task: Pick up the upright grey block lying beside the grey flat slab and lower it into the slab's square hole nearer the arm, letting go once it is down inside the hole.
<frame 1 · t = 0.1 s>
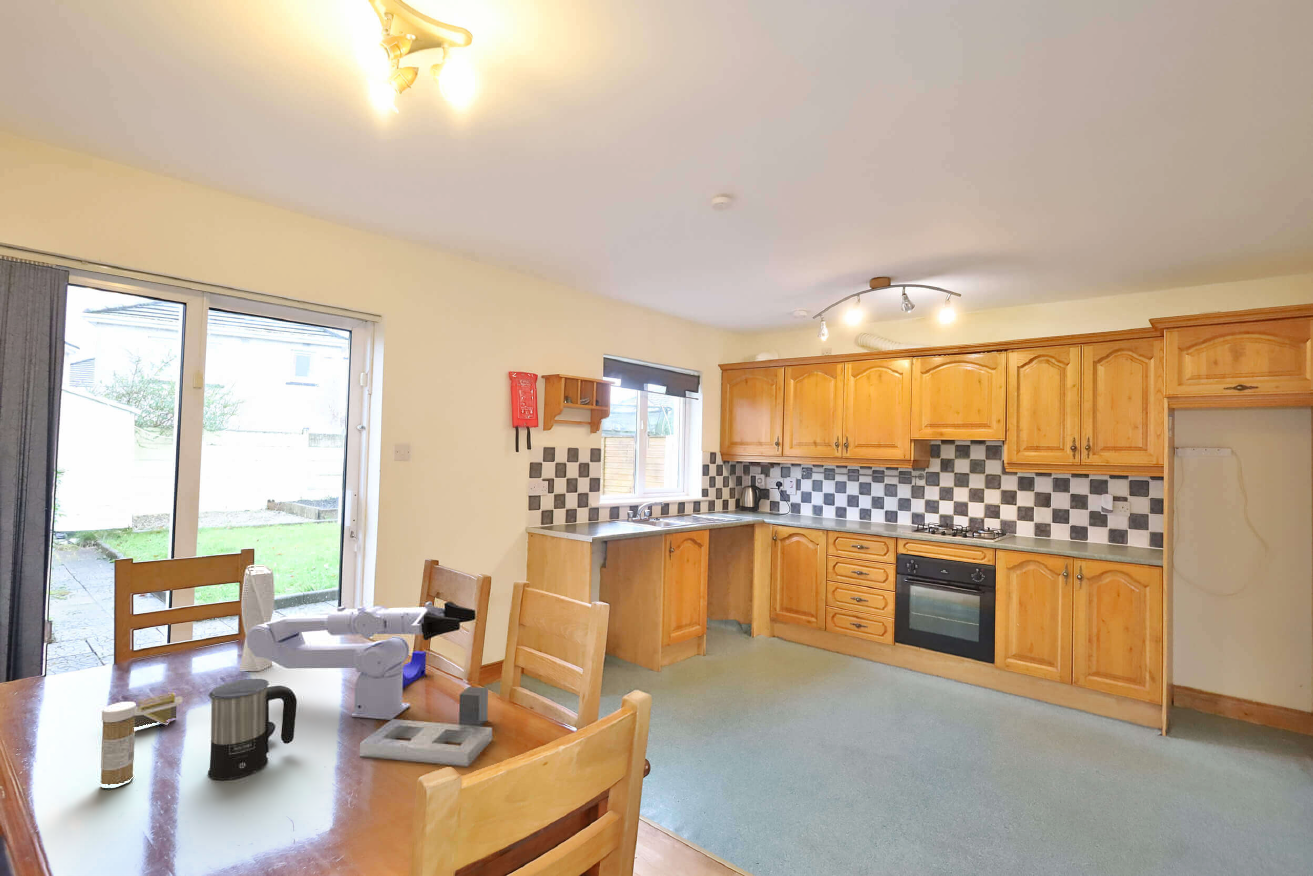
hand: (467, 619, 138), 22 cm above the table, tool horizontal, fingers open, 7 cm apart
sprinkles bottle: (116, 785, 109), on the table
platform: (154, 730, 131), on the table
grey flat slab: (427, 747, 124), on the table
milk frother: (243, 759, 119), on the table
upright grey block: (473, 724, 136), on the table
skyscraper: (255, 669, 167), on the table
cable clip: (404, 683, 159), on the table
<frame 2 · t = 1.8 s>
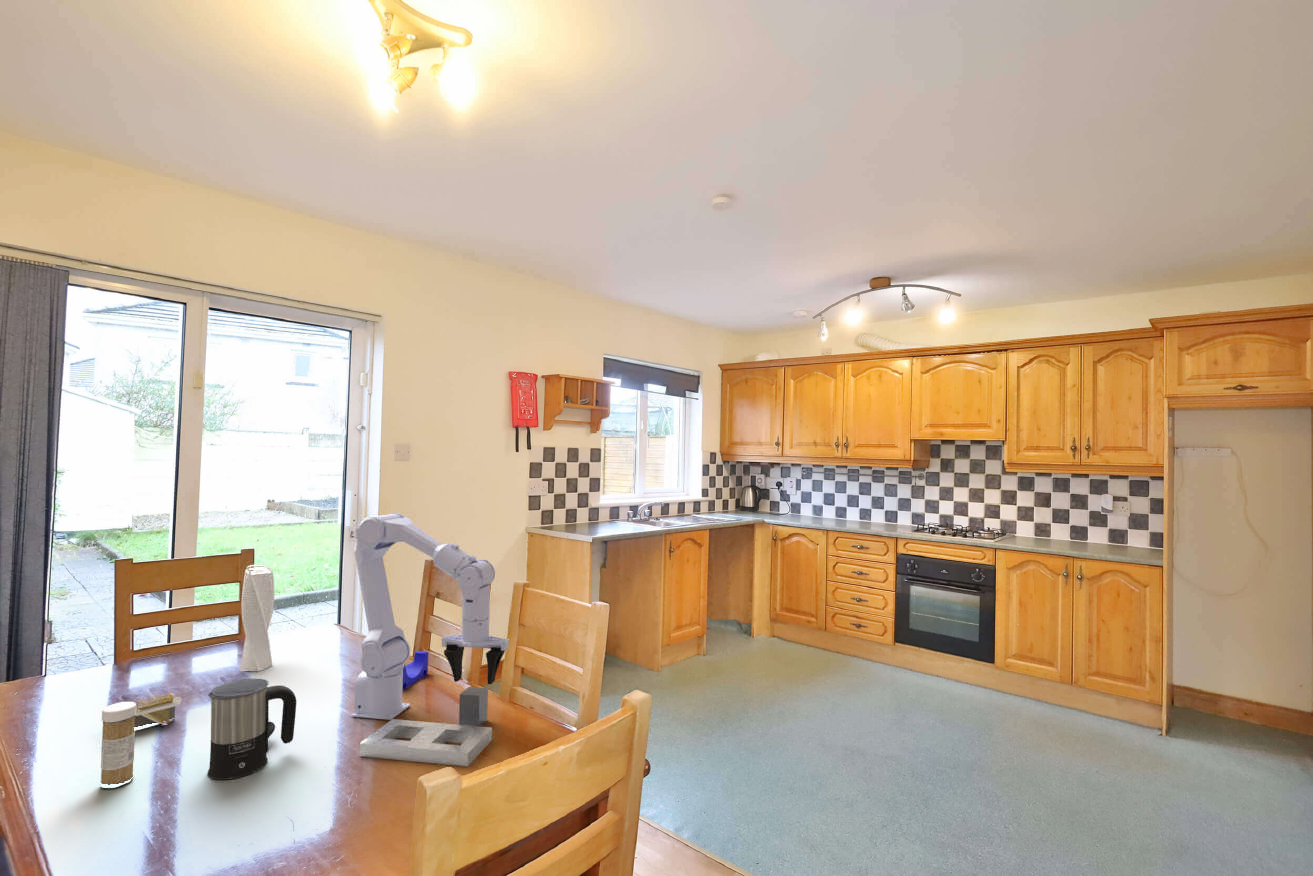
hand: (474, 681, 136), 9 cm above the table, tool pointing down, fingers open, 7 cm apart
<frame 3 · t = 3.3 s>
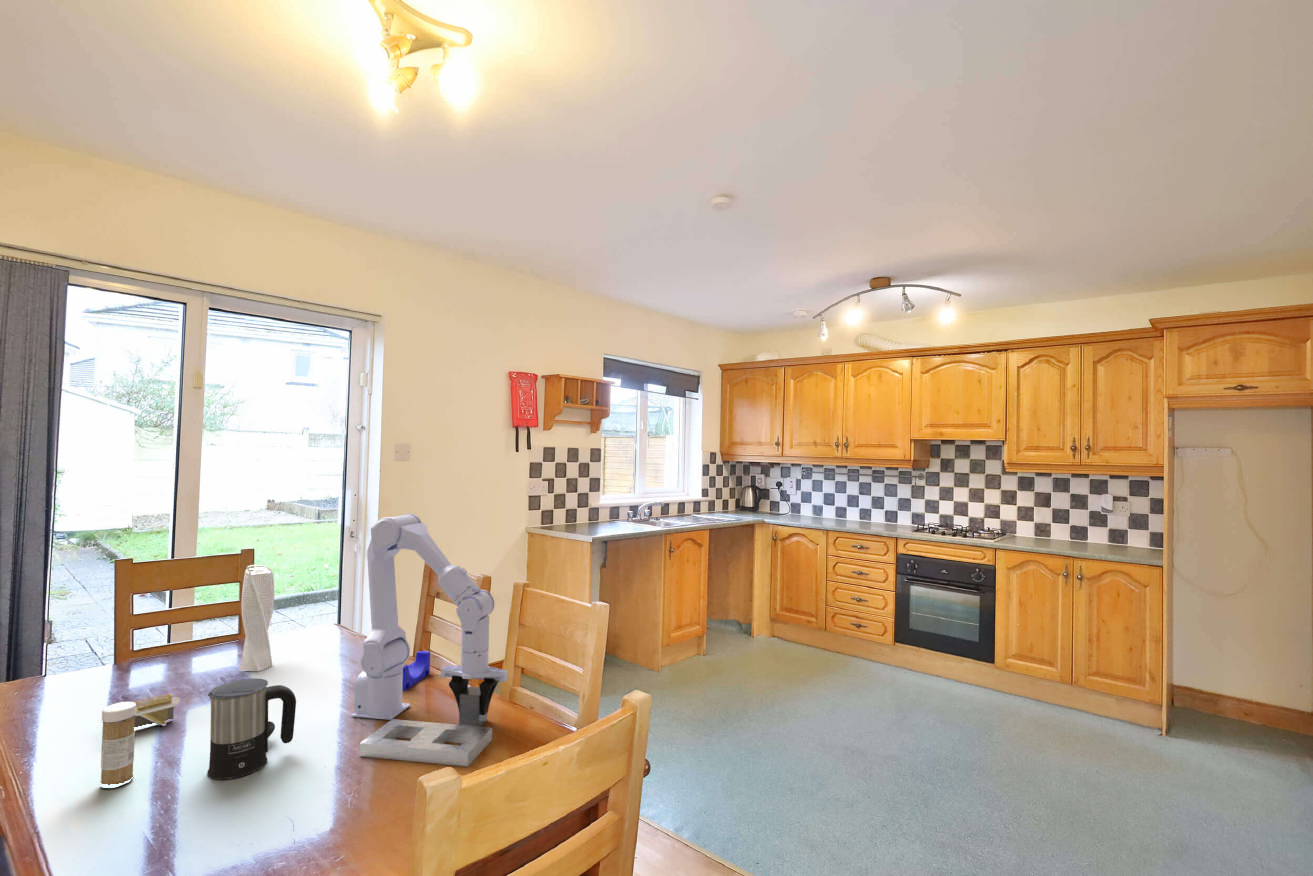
hand: (473, 712, 136), 2 cm above the table, tool pointing down, fingers closed on upright grey block, 4 cm apart
upright grey block: (473, 723, 136), on the table, touching gripper
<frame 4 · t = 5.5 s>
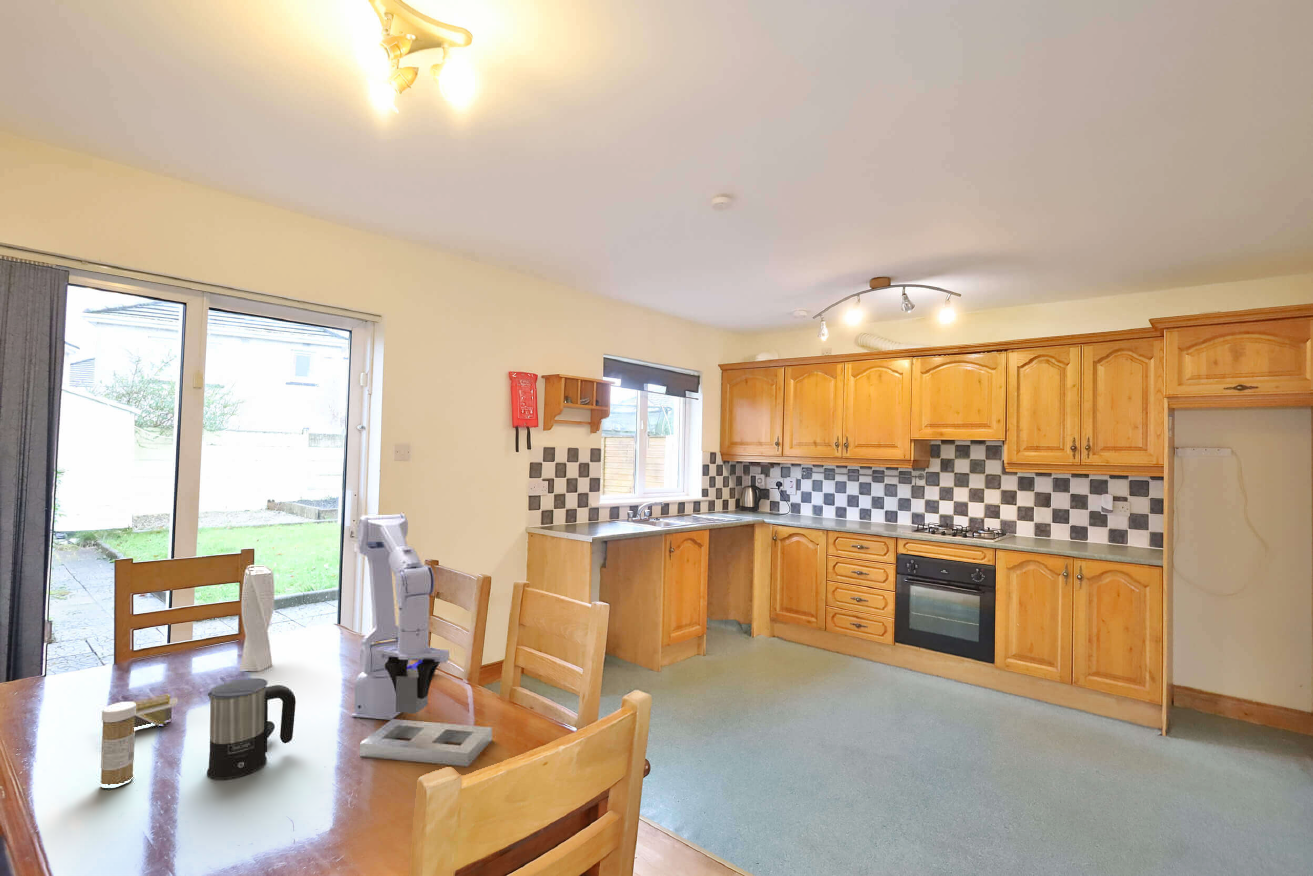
hand: (412, 696, 126), 9 cm above the table, tool pointing down, fingers closed on upright grey block, 4 cm apart
upright grey block: (411, 708, 126), point 7 cm above the table, touching gripper
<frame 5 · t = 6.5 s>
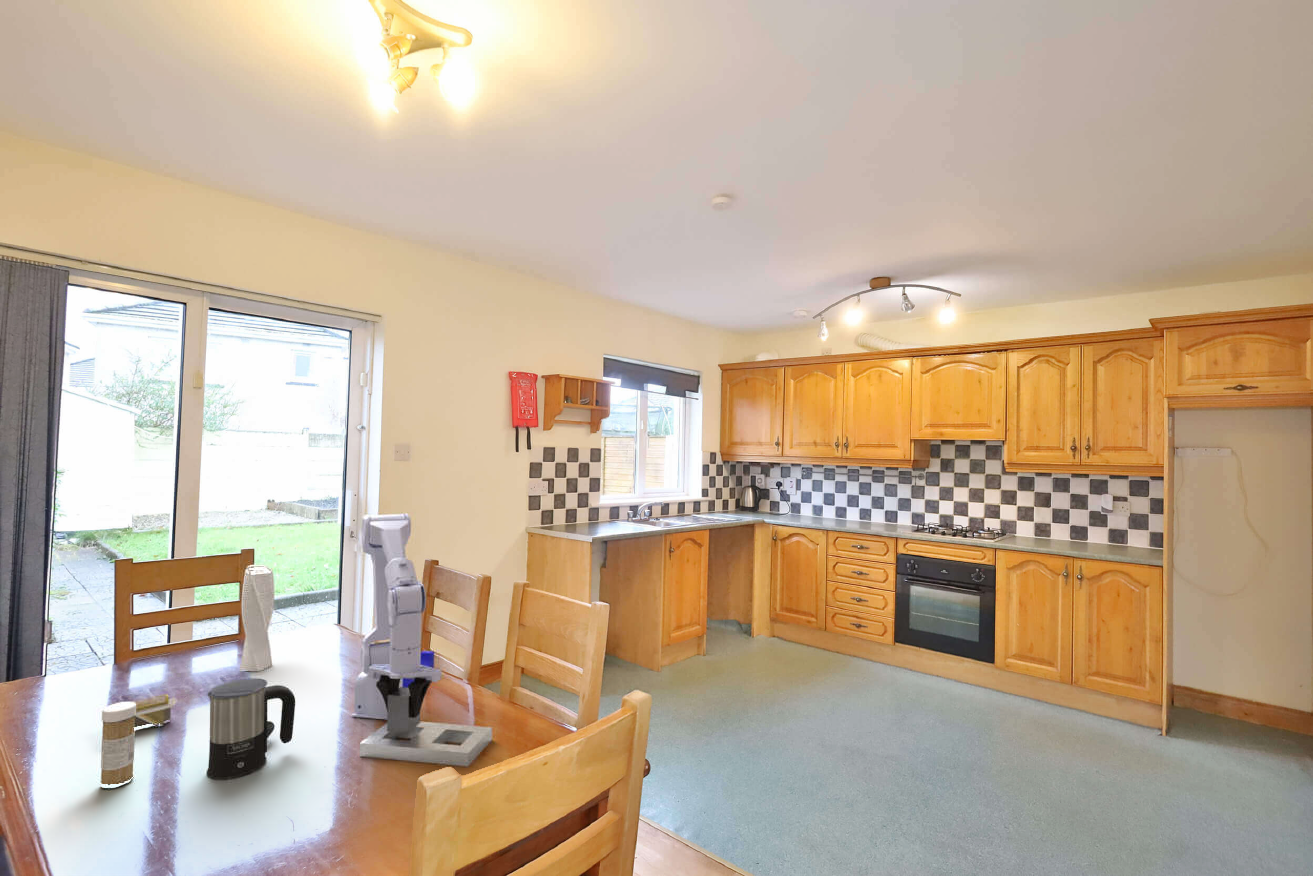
hand: (403, 714, 125), 6 cm above the table, tool pointing down, fingers closed on upright grey block, 4 cm apart
upright grey block: (403, 727, 125), point 4 cm above the table, touching gripper
when the fingers open (3 cm above the table, at t = 7.6 s): upright grey block drops 1 cm, resting in grey flat slab.
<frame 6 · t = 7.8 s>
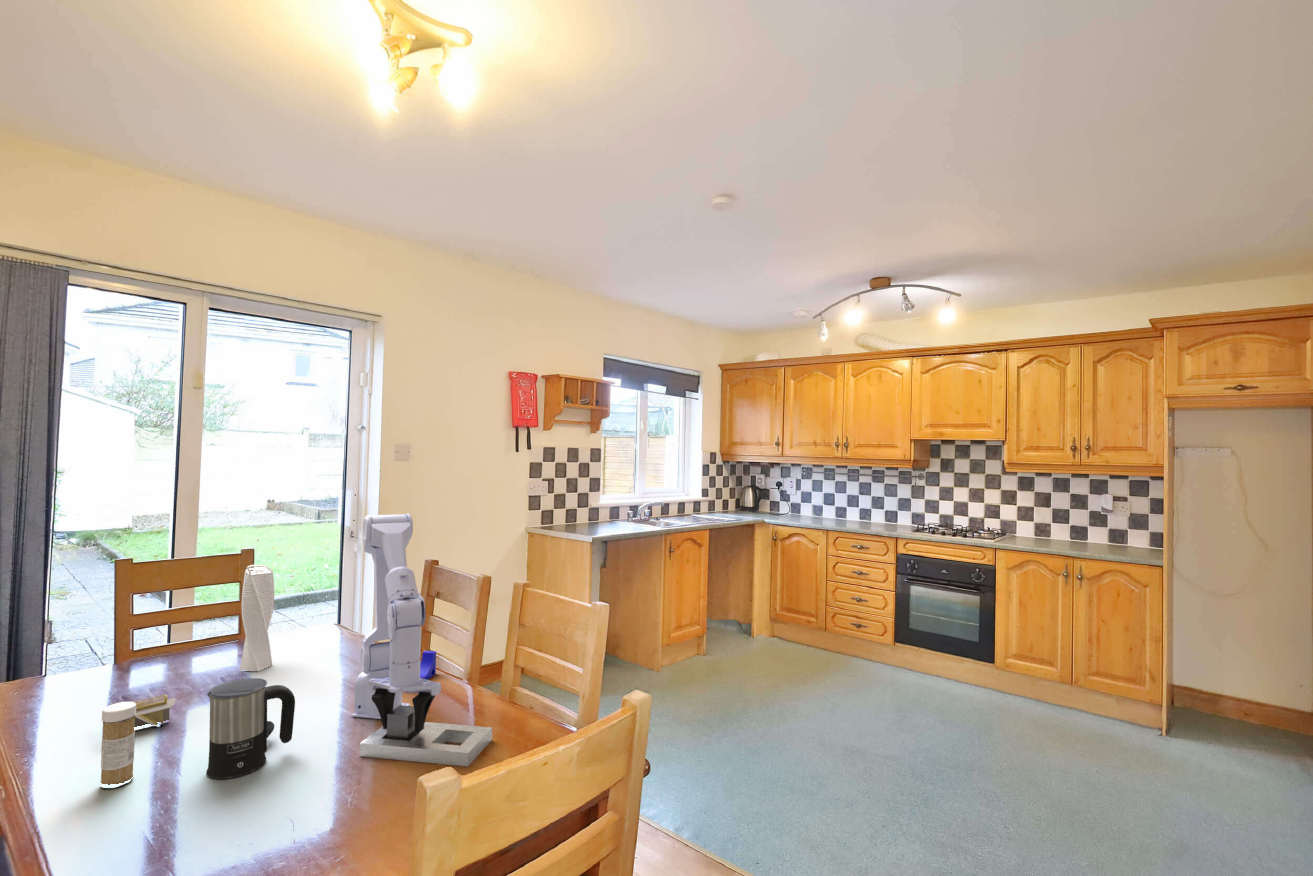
hand: (403, 728, 125), 3 cm above the table, tool pointing down, fingers open, 6 cm apart
upright grey block: (402, 746, 125), resting in grey flat slab
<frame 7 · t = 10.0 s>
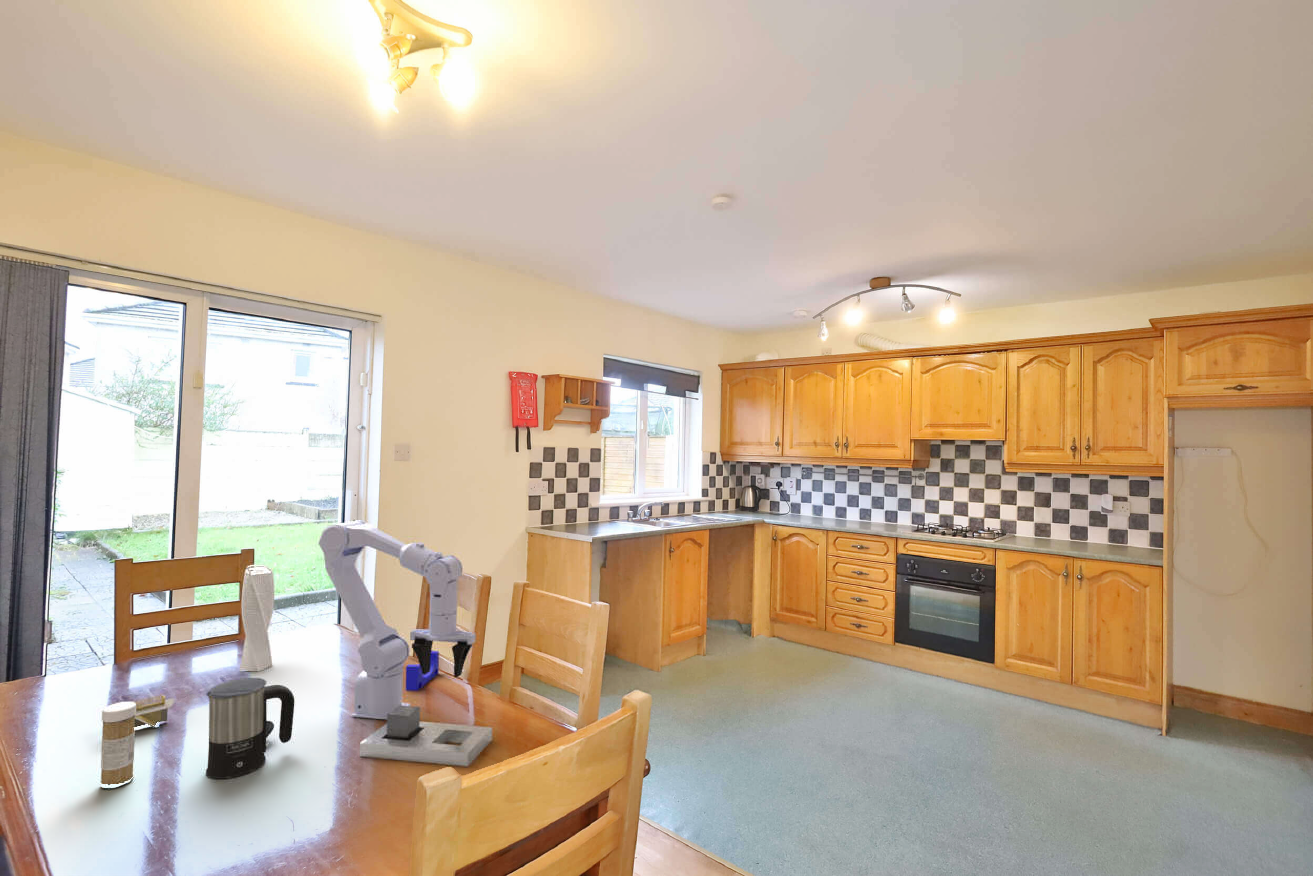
hand: (441, 674, 139), 9 cm above the table, tool pointing down, fingers open, 7 cm apart
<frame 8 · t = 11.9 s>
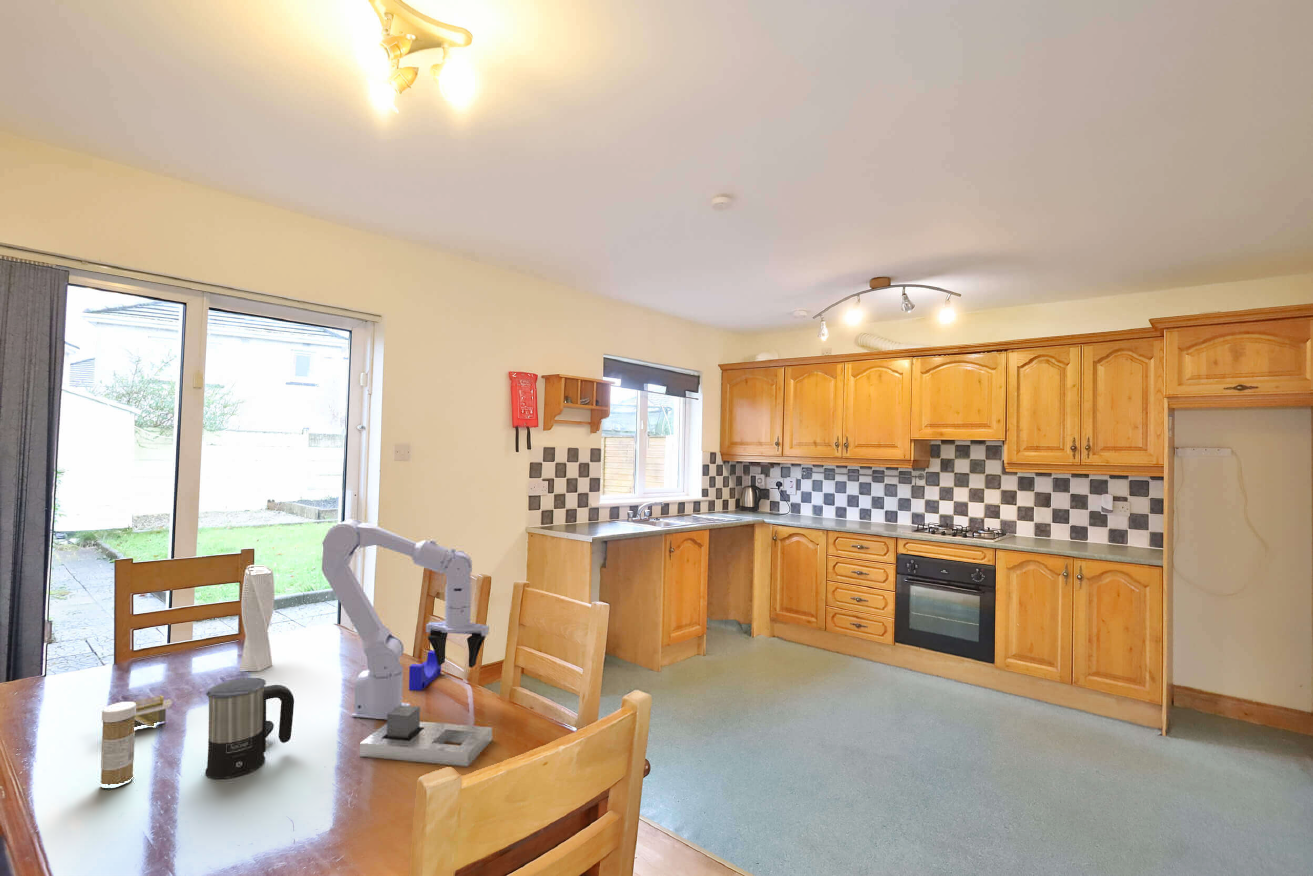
hand: (456, 665, 145), 9 cm above the table, tool pointing down, fingers open, 7 cm apart
at the end: upright grey block 0.0 cm from the target spot on the grey flat slab, point 0.0 cm above the grey flat slab's base; upright grey block tilted 0°; the gripper is holding nothing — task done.
